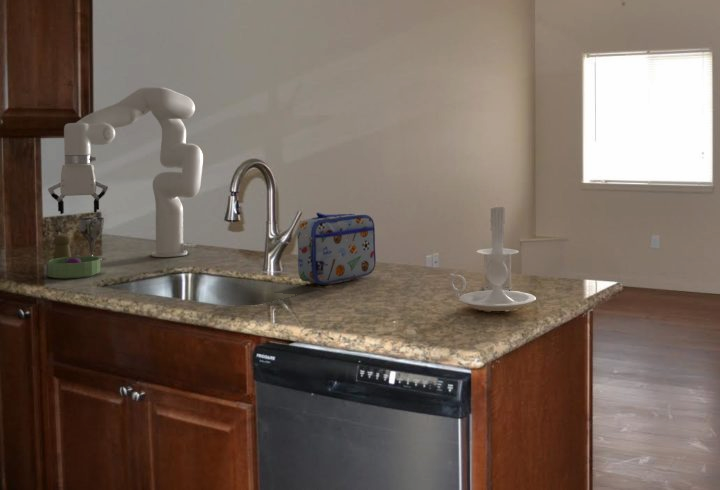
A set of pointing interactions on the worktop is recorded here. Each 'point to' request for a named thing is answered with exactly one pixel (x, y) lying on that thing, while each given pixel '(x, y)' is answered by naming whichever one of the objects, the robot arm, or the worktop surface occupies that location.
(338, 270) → the lunch box
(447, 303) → the worktop surface
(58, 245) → the cork
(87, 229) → the wine glass
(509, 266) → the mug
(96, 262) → the bowl
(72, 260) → the ball
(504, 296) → the candlestick
